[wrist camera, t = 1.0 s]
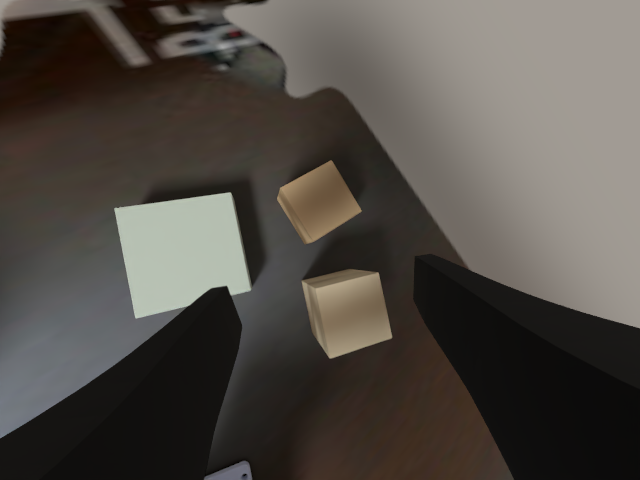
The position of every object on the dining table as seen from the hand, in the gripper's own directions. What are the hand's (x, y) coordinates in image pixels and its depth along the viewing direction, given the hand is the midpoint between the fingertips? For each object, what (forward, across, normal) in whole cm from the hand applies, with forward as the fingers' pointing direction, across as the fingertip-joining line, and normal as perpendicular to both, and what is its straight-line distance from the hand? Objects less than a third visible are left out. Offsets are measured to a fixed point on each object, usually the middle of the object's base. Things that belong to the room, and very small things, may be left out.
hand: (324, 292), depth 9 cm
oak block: (+15, 0, +1) cm, 15 cm away
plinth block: (+12, +11, +3) cm, 16 cm away
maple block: (+11, 0, +9) cm, 14 cm away
